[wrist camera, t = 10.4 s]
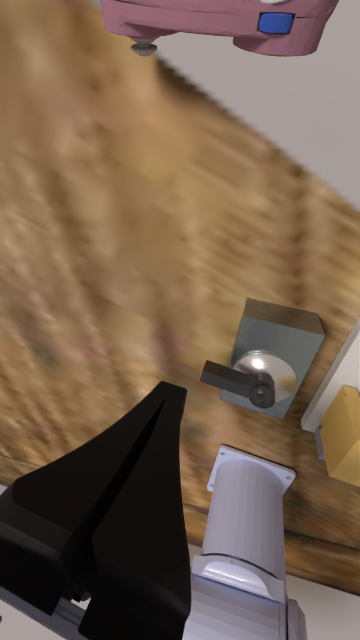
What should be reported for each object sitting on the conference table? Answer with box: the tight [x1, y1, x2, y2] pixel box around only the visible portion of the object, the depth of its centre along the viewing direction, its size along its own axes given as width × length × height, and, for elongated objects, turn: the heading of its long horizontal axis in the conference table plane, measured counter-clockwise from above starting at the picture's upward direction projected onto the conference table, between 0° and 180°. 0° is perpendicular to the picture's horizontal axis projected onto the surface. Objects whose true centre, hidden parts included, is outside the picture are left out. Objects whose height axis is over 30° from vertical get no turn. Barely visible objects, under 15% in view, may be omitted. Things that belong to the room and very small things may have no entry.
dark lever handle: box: [200, 360, 275, 409], centre depth 17 cm, size 5×2×2 cm, turn 80°
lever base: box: [220, 298, 325, 420], centre depth 19 cm, size 8×5×3 cm, turn 174°
